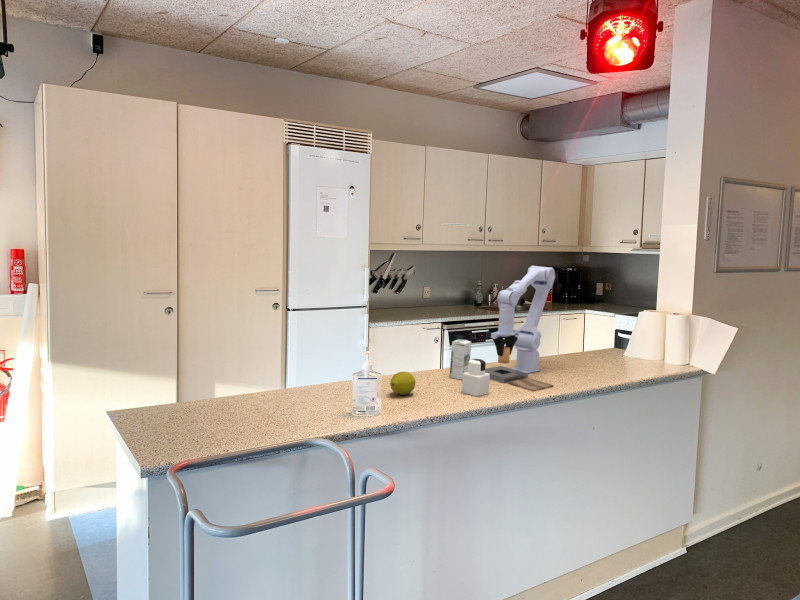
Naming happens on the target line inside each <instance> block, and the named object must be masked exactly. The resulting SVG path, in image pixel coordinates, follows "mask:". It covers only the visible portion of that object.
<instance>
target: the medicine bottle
mask: <svg viewBox="0 0 800 600" xmlns="http://www.w3.org/2000/svg"><path fill="white" fill-rule="evenodd" d="M486 363H487V362H486V361H485V360H483V359H480V358H472V359H471V358H470V360H469V362H468V371H469V372H466V373H463V377H462V380H461V381H462V382H461V393H462V394H466V395H469V394H470V396H474V397H477V396H478V397H481V395H482V396H485V395H486V394H489V393H490V392H489V390H490V380H491V379H490V374H489V373H484V372H485V369H486Z"/></svg>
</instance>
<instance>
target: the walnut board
mask: <svg viewBox="0 0 800 600" xmlns="http://www.w3.org/2000/svg"><path fill="white" fill-rule="evenodd" d="M507 384H508V385H512V386H515V387H516V388H520V387H521V388H520V389H523V390H527V389H528V391H530V390H531V391H530V392H536V390H538V391H540V390H541V389H542V390H546V389H549V387H550V388H554V387H555V385H553V384H551V383H547V382H545V381H544V382H543V381H540V380H537V379H533V378H529V377H528V378H526V379H521V380H516V381H511V382H508V383H507ZM545 388H546V389H545ZM542 390H541V391H542Z"/></svg>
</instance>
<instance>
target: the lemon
mask: <svg viewBox="0 0 800 600" xmlns="http://www.w3.org/2000/svg"><path fill="white" fill-rule="evenodd" d="M389 383H390V385H389V386H390V389H391V390H392V392H394V393H395V394H397V395H399V396H400V395H401V396H403V395H404V396H405V395H408V394H410V393H411V392H412V391H413V390H414V389H415V387H416V379H415V377H414V375H413V374H412V373H410V372H409V371H399V372H397V373H395V374H394V375H393V376H392V377H391V379H390V382H389Z"/></svg>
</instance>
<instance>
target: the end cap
mask: <svg viewBox="0 0 800 600" xmlns="http://www.w3.org/2000/svg"><path fill="white" fill-rule="evenodd" d="M497 356H498V357H497V362H498V363H499V364H503V365H504V364H509V363H510V359H511V358H510V356H511V355H510V347H507V346H505V345H504V350H503V355H502V356H499V355H497Z"/></svg>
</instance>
